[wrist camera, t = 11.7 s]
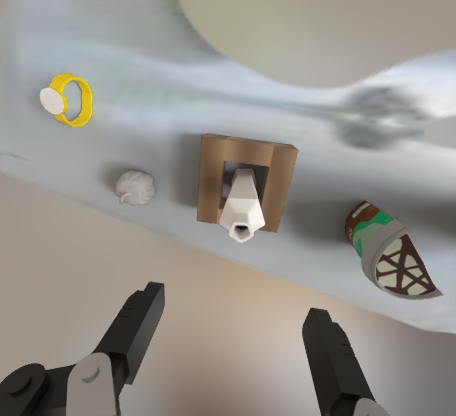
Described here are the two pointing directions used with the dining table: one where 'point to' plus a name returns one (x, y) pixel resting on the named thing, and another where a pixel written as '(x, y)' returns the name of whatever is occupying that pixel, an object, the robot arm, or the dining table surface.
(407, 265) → the food container
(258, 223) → the white faceted vase
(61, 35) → the dining table surface
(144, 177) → the garlic
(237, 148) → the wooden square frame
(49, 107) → the watch
